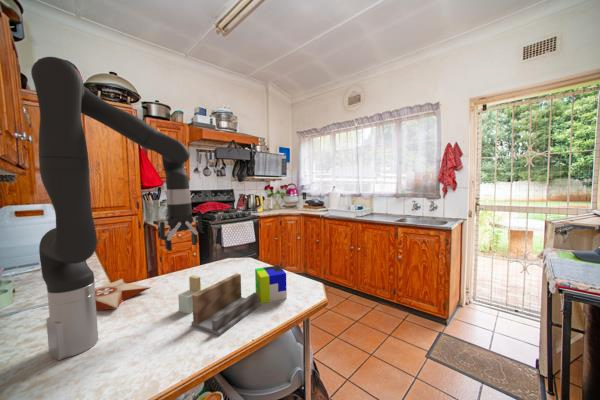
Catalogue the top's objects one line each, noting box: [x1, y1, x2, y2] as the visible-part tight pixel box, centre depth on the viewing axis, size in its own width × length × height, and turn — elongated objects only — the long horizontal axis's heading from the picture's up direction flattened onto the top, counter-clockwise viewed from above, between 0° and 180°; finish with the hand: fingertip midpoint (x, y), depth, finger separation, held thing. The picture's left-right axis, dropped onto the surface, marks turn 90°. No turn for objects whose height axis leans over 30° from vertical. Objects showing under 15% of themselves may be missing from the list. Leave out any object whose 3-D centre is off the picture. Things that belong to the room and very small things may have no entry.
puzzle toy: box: [254, 264, 288, 304], centre depth 95 cm, size 10×10×10 cm
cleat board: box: [191, 273, 262, 337], centre depth 81 cm, size 20×12×10 cm, turn 153°
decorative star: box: [95, 278, 152, 311], centre depth 92 cm, size 29×4×30 cm
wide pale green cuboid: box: [177, 275, 211, 315], centre depth 87 cm, size 10×5×11 cm, turn 153°
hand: (182, 247), depth 84 cm, fingers open, 8 cm apart
